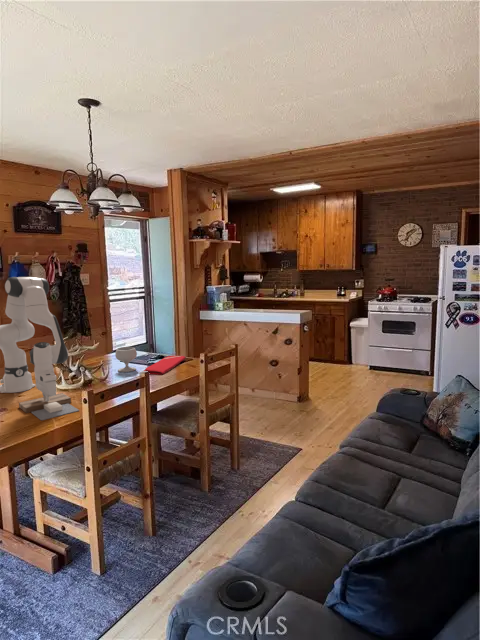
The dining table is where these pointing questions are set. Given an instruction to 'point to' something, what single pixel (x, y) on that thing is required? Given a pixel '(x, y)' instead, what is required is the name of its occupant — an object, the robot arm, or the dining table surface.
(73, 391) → the dining table surface
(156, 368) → the dish drying mat
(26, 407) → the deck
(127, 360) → the chalice
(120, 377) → the dining table surface
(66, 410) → the mat
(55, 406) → the tile
